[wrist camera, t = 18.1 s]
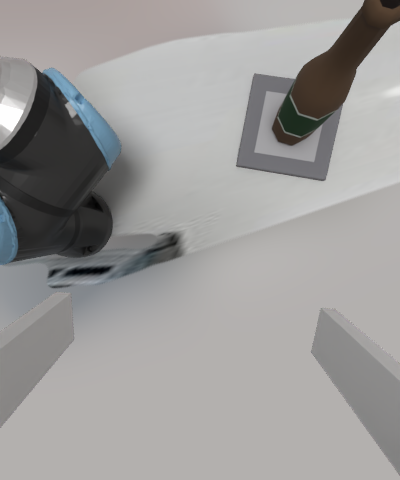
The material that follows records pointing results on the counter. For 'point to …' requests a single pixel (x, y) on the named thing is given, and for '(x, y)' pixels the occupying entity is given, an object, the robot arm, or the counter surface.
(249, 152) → the picture frame
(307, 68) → the beer bottle
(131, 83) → the counter surface
